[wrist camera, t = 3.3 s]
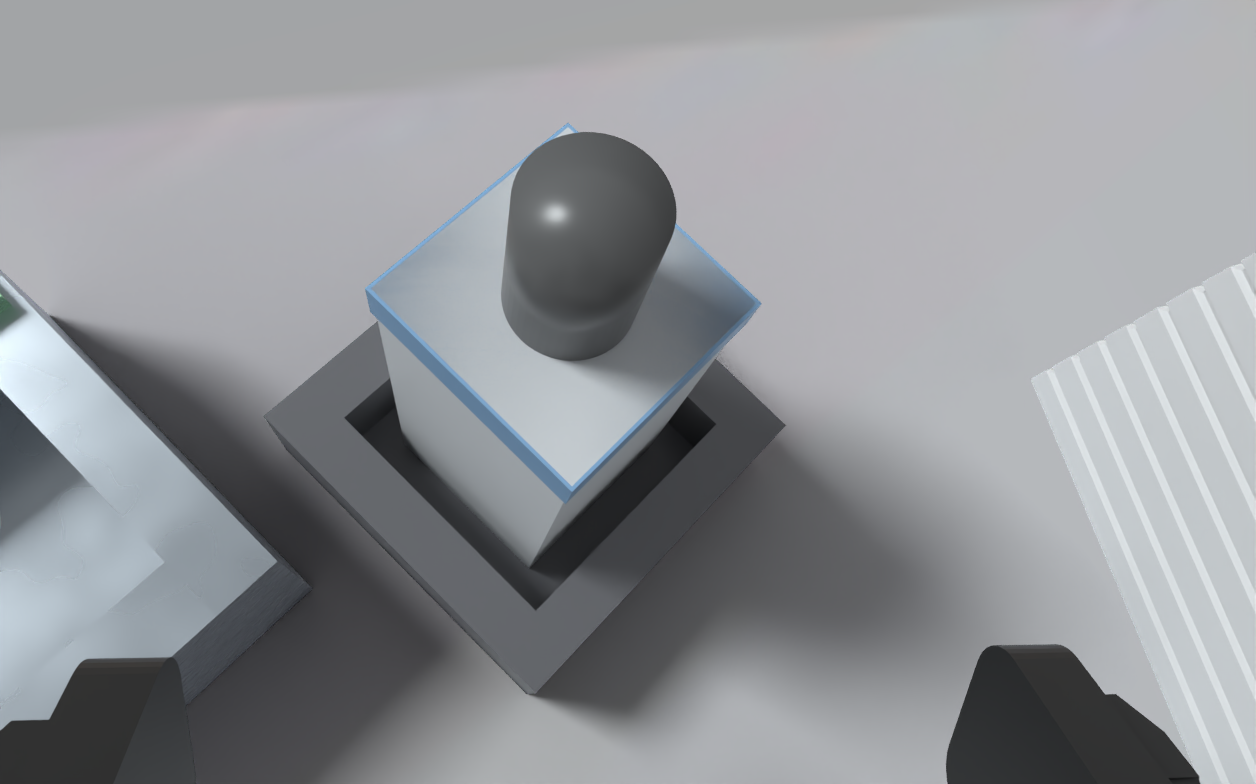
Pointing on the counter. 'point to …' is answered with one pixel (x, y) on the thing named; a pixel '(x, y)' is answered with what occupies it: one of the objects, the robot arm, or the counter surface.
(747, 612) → the counter surface
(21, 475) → the port
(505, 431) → the plug
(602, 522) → the holster
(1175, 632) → the stack of papers
